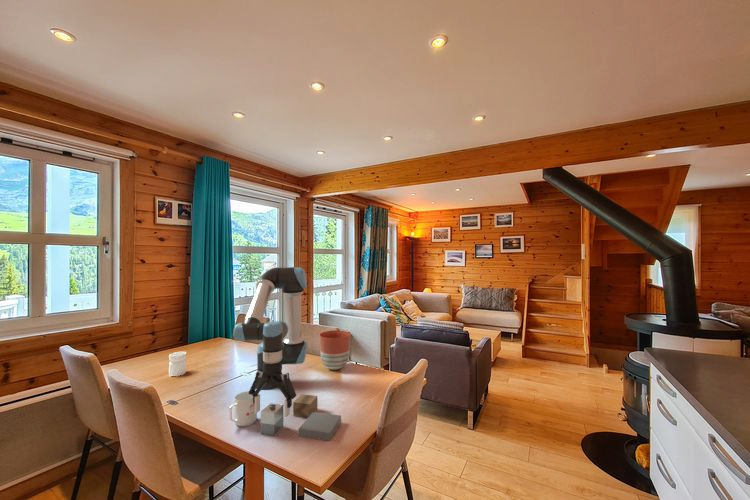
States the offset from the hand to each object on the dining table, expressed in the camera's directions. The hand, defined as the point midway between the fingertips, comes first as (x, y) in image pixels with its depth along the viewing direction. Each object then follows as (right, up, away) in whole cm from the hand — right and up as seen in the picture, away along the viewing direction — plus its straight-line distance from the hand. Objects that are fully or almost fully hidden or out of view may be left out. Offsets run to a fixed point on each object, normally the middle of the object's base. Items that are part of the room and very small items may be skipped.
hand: (272, 413), depth 124 cm
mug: (-14, -7, +5) cm, 17 cm away
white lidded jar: (-77, -8, +59) cm, 98 cm away
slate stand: (+20, -7, +1) cm, 21 cm away
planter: (+17, -8, +68) cm, 71 cm away
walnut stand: (+10, -7, +14) cm, 19 cm away
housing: (0, -7, 0) cm, 7 cm away
